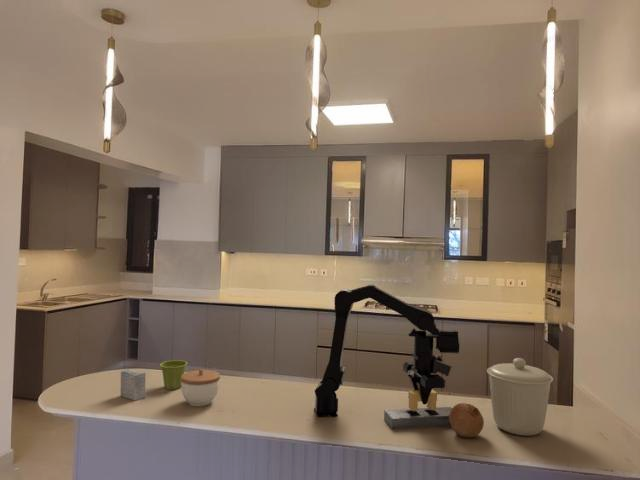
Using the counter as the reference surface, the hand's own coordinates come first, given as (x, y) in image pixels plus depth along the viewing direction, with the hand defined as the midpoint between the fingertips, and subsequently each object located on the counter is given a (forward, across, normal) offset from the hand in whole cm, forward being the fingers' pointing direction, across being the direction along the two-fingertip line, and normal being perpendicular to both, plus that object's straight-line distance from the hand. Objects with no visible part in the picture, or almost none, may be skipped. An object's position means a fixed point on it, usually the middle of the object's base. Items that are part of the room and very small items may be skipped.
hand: (422, 402), depth 136 cm
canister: (+6, -8, -27) cm, 29 cm away
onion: (+6, -10, -9) cm, 15 cm away
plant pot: (+7, +42, +79) cm, 90 cm away
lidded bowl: (+7, +25, +68) cm, 73 cm away
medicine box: (+7, +33, +91) cm, 97 cm away
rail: (+6, 0, 0) cm, 6 cm away
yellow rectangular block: (+2, 0, 0) cm, 2 cm away
